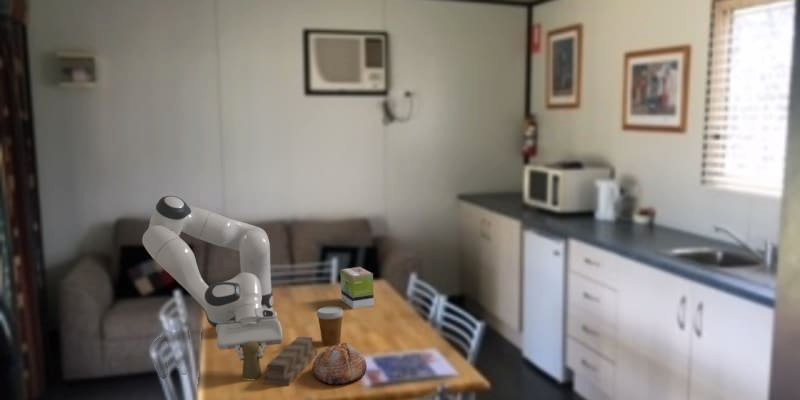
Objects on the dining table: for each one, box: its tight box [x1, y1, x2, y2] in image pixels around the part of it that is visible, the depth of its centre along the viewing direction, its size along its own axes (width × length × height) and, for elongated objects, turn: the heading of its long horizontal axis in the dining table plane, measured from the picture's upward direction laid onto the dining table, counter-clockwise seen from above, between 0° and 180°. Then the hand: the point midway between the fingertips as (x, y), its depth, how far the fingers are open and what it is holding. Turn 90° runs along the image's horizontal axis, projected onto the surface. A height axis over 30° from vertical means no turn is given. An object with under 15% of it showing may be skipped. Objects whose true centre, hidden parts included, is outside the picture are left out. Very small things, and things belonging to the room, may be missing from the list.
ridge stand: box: [263, 336, 318, 386], centre depth 205 cm, size 26×8×6 cm, turn 169°
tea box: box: [339, 266, 375, 310], centre depth 280 cm, size 15×10×15 cm, turn 25°
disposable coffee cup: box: [316, 306, 344, 346], centre depth 229 cm, size 10×10×12 cm
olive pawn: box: [241, 341, 263, 381], centre depth 199 cm, size 6×6×11 cm
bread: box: [312, 341, 367, 386], centre depth 200 cm, size 16×20×10 cm
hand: (251, 358), depth 198 cm, fingers open, 4 cm apart
